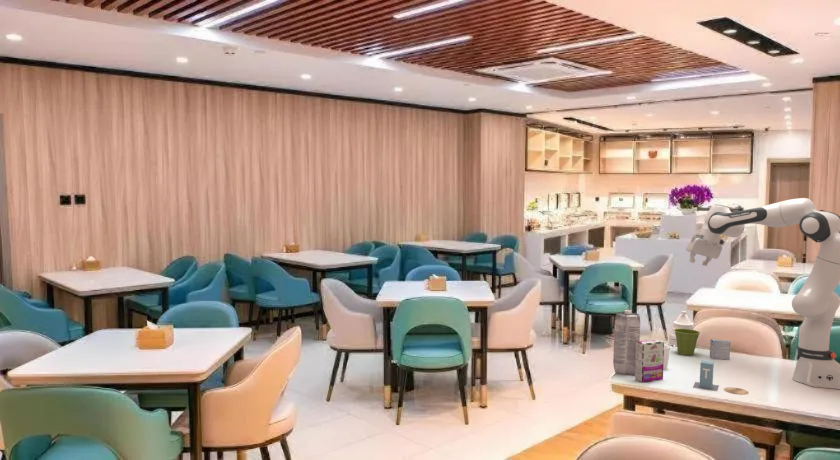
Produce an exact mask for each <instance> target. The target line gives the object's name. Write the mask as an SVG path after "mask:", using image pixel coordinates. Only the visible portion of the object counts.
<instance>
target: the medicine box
mask: <svg viewBox="0 0 840 460" xmlns="http://www.w3.org/2000/svg"><path fill="white" fill-rule="evenodd" d="M731 343H732V342H731V341H730V340H728V339H715V338H714V339H713V338H712V339H710V346H709V357H710V358H711V359H712V358H713V360H731V357H730V356H731Z"/></svg>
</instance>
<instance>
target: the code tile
mask: <svg viewBox="0 0 840 460" xmlns="http://www.w3.org/2000/svg"><path fill="white" fill-rule="evenodd" d="M699 385H700V381H695V382H694V384H693V387H692V388H693V389H698V390H700V389H701V390H707V391H711V392H712V391H713V392H718V390H719V387H720V385H718V384H713V386H712V389H709V388H703V387H699Z"/></svg>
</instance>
